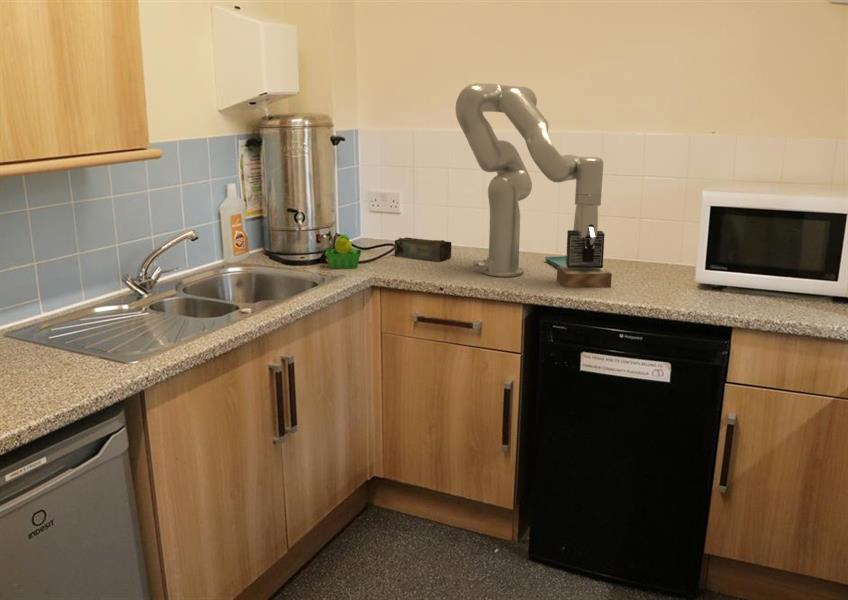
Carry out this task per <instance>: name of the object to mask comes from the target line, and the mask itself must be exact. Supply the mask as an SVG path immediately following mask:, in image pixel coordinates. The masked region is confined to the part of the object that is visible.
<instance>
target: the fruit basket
mask: <svg viewBox="0 0 848 600" xmlns="http://www.w3.org/2000/svg"><path fill="white" fill-rule="evenodd" d="M352 244H353V243H352V242H351V240H350V238H349V236H347V235H346V234H341V235H339V236H338V237H337V239H336V240H335V244H334V246H335V247H334V249H330V248H329V249H326V252H325V256H326V259H327V262H328V267H329V269H357V268H358V265H359V261H360V258H361V254H362V249H355V248H353V247H352Z"/></svg>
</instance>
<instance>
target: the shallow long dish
mask: <svg viewBox="0 0 848 600" xmlns="http://www.w3.org/2000/svg"><path fill="white" fill-rule="evenodd" d="M544 259H545V261H546V262H547V263H548V264H549V263H550V265H551V266H552V265H553V267H554V268H556V269H557V267H559V266H567V265H566V255H565V256H564V255H562V256H545V257H544Z"/></svg>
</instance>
